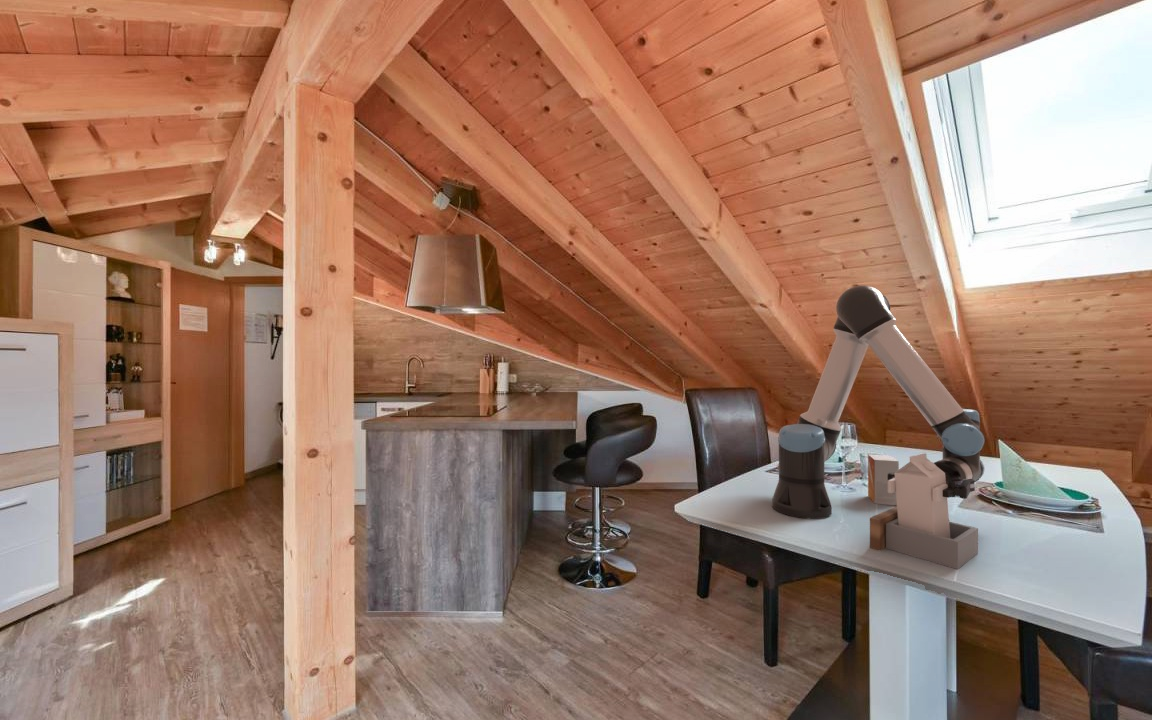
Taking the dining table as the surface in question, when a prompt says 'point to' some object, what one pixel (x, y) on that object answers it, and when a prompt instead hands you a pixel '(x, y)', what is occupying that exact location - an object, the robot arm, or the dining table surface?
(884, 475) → the small box
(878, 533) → the walnut wall
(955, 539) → the tray
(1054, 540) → the dining table surface
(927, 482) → the milk carton
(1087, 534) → the dining table surface
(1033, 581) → the dining table surface
